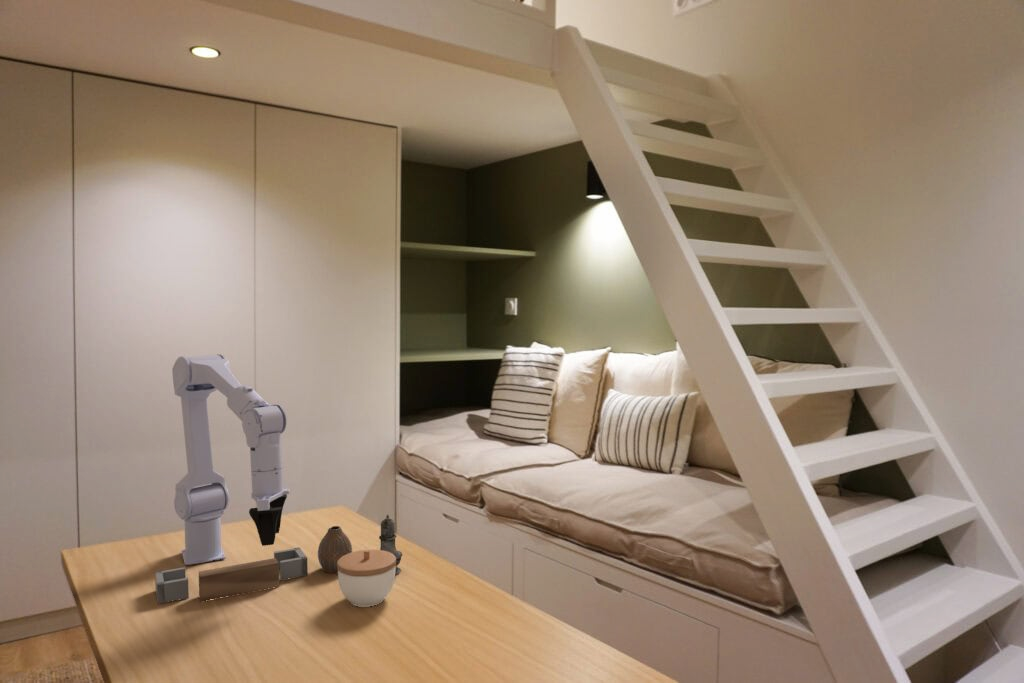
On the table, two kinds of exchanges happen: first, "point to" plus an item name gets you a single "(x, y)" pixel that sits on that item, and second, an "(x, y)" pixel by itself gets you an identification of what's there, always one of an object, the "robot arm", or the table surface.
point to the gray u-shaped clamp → (171, 585)
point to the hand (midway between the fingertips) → (270, 538)
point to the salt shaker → (390, 540)
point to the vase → (333, 548)
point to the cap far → (291, 563)
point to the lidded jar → (366, 576)
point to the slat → (238, 579)
